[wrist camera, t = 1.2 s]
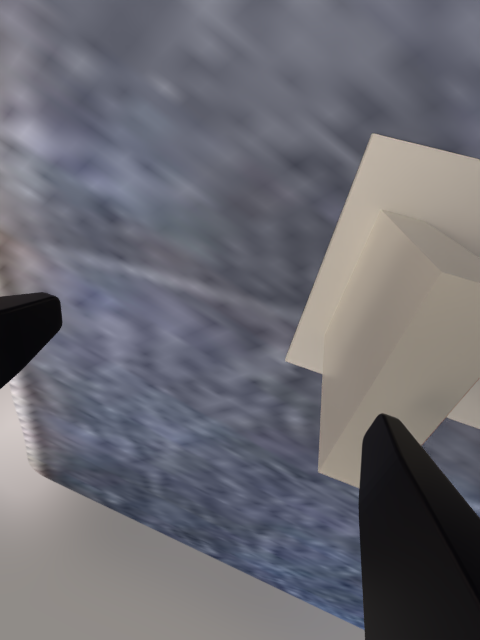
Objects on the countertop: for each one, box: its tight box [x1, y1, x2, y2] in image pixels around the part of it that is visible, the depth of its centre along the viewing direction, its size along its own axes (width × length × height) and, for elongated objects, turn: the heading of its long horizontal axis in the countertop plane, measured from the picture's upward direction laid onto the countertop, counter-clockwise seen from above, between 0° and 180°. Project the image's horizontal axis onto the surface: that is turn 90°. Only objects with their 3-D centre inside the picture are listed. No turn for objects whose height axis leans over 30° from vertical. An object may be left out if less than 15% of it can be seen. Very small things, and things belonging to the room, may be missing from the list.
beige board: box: [285, 134, 480, 429], centre depth 17 cm, size 18×14×1 cm
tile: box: [318, 209, 480, 488], centre depth 13 cm, size 2×8×10 cm, turn 167°
